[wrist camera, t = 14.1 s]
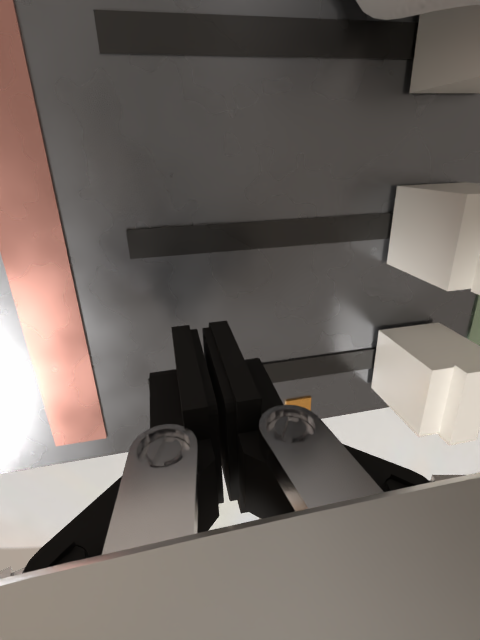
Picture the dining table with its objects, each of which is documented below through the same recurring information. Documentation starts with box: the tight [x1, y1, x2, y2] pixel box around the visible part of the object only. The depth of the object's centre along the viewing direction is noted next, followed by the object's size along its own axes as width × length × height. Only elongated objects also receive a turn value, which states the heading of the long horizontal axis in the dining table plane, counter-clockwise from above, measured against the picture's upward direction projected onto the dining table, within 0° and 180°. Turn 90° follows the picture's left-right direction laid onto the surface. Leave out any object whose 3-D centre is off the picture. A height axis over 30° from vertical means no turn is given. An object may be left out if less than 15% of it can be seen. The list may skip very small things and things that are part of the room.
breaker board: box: [0, 0, 480, 474], centre depth 15 cm, size 18×26×2 cm
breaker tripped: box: [371, 322, 480, 446], centre depth 16 cm, size 3×3×4 cm
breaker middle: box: [387, 182, 480, 295], centre depth 13 cm, size 3×3×4 cm
